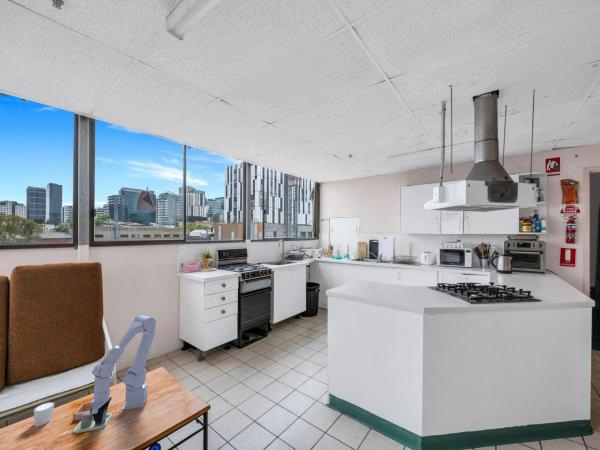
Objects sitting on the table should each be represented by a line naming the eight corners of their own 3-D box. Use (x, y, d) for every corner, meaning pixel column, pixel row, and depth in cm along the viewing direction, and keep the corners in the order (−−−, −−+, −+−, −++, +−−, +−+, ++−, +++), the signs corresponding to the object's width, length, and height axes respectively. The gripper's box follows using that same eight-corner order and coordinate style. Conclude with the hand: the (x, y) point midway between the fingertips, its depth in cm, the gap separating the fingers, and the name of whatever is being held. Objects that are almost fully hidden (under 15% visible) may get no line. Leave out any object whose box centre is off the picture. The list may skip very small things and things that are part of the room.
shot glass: (40, 428, 114) (41, 412, 114) (28, 426, 115) (29, 410, 115) (57, 418, 120) (58, 402, 121) (46, 415, 122) (47, 400, 122)
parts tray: (112, 415, 122) (112, 413, 122) (104, 428, 114) (105, 425, 114) (82, 421, 118) (82, 418, 118) (72, 434, 110) (72, 431, 110)
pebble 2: (107, 418, 120) (107, 407, 120) (103, 424, 116) (104, 413, 116) (97, 420, 118) (97, 409, 119) (93, 426, 115) (93, 415, 115)
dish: (108, 405, 130) (108, 398, 130) (100, 416, 121) (101, 410, 121) (82, 409, 126) (82, 402, 127) (72, 421, 118) (73, 414, 118)
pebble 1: (93, 421, 118) (94, 410, 118) (89, 427, 114) (90, 415, 114) (83, 423, 117) (83, 411, 117) (78, 429, 113) (79, 417, 113)
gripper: (98, 382, 123) (97, 411, 123) (83, 400, 110) (82, 433, 109) (115, 380, 126) (114, 408, 125) (103, 397, 112) (101, 429, 111)
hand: (100, 419), depth 117 cm, fingers closed on pebble 2, 4 cm apart
